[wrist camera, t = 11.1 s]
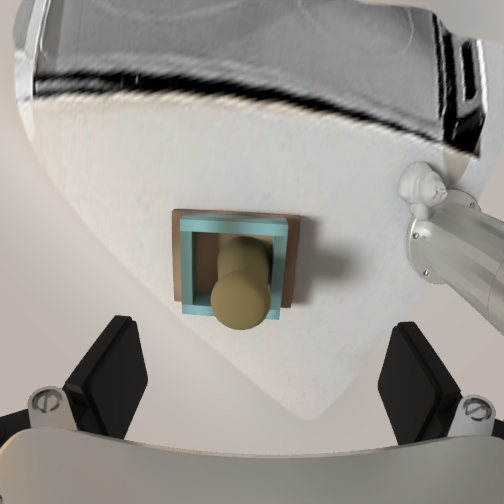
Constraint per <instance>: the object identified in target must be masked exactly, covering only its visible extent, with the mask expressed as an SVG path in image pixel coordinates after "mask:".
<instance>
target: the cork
mask: <svg viewBox="0 0 504 504" xmlns="http://www.w3.org/2000/svg"><path fill="white" fill-rule="evenodd" d="M217 264H218V282H217V283H216V284H215V286H214V288H213V291H212V293H211V307H212V310H213V313H214V315H215V317H216V318H217V319H218V320H219V321H220V322H221V323H222V324H224V325H225V326H227V327H229V328H232V329H236V330H245V329H251V328H253V327H255V326H257V325H259V324H260V323H261V322H262V321H263V320H264V319H265V318H266V316H267V314H268V312H269V310H270V306H271V296H270V292H269V288H268V287H267V285H266V284H267V280H268V275H269V271H270V266H271V257H270V253H269V251H268V249H267V248H266V246H265V245H264V244H263V243H262V242H260V241H259V240H257V239H255V238H252V237H248V236H240V237H235V238H233V239H231V240H229V241H227V242H226V243H225V244H224V245H223V246H222V248H221V249H220V252H219V254H218V263H217Z"/></svg>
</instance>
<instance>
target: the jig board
mask: <svg viewBox="0 0 504 504" xmlns="http://www.w3.org/2000/svg"><path fill="white" fill-rule="evenodd" d="M299 227H300V216H299V215H284V214H268V213H251V212H232V211H211V210H186V209H174V210H173V211H172V253H173V280H174V301H181V302H182V314H192V315H206V316H215V315H214V313H213V310H212V307H211V293H212V291H213V288H214V286H215V284H216V283H217V282H218V264H217V263H218V254H219V252H220V249H221V248H222V246H223V245H224V244H225V243H226V242H227V241H229V240H231V239H233V238H235V237H240V236H248V237H252V238H255V239H257V240H259V241H260V242H262V243H263V244H264V245H265V246H266V248H267V249H268V251H269V253H270V257H271V266H270V271H269V275H268V280H267V284H266V285H267V287H268V288H269V292H270V296H271V306H270V310H269V312H268V314H267V316H266V318H265V319H276V320H279V315H280V307H281V308H291V300H292V292H293V283H294V274H295V265H296V256H297V247H298V237H299Z"/></svg>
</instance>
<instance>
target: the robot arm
mask: <svg viewBox="0 0 504 504" xmlns="http://www.w3.org/2000/svg"><path fill="white" fill-rule="evenodd" d="M446 190H447V193H448V196H447V197H446V199H445V200H444V201H443V202H442V203H441V204H439V205H435V206H429V216H428V219H427V220H425V221H419V220H418V219H417V218H416V217H415V216H414V215H413V217H412V220H411V222H410V225H409V229H408V233H407V243H406V246H407V255H408V258H409V261H410V263H411V265H412V267H413V269H414V270H415V271H416V273H417V274H418V275H419V276H420V277H421V278H423V279H424V280H426V281H428V282H430V283H434V284H445V283H447V284H448V285H449V286H450V287H451V288H453V289H454V290H455V291H456V292H457V293H458V294H459V295H460V296H461V297H463V298H464V299H465V300H466V301H467V302H468V303H469V304H470V305H471V306H472V307H474V308H475V309H476V310H477V311H478V312H479V313H480V314H481V315H482V316H483V317H484V318H485V319H486V320H487V321H488V322H490V324H492V325H493V326H494V327H495V328H496V329H497V330H498V331H499V332H500V333H501V334H502V335H503V336H504V222H503V221H501V220H498V219H496V218H494V217H491V216H489V215H487V214H485V213H482V212H481V209H480V207H479V205H478V204H477V202H476V201H475V200H474V199H473V198H472V197H471V196H470V195H468V194H467V193H465V192H462V191H459V190H455V189H446ZM413 234H414V235H413ZM147 382H148V376H147V371H146V367H145V363H144V358H143V353H142V348H141V343H140V338H139V333H138V328H137V323H136V321H133V320H132V318H131V317H130V316H120V315H116V316H114V318H113V319H112V320H111V322H110V323H109V324H108V325H107V327H106V328H105V329H104V331H103V332H102V333H101V335H100V336H99V337H98V338H97V340H96V341H95V342H94V344H93V345H92V347H91V348H90V349H89V351H88V352H87V353H86V355H85V356H84V357H83V359H82V360H81V361H80V363H79V364H78V365H77V367H76V368H75V370H74V371H73V372H72V374H71V375H70V377H69V378H68V379H67V381H66V382H65V385H64V386H63V388H62V389H61V388H58V387H55V386H47V387H43V388H40V389H38V390H36V391H35V392H34V393H33V394H32V395H31V396H30V397H29V400H28V409H25V410H22V411H19V412H15V413H12V414H9V415H6V416H2V417H0V504H504V420H503V421H500V420H498V419H495V415H496V411H495V408H494V406H493V404H492V403H491V402H490V401H489V400H488V399H486V398H484V397H482V396H479V395H468V396H465V397H464V398H463V396H462V395H461V393H460V392H461V390H460V389H459V387H458V385H457V384H456V382H455V381H454V379H453V378H452V376H451V374H450V373H449V372H448V370H447V368H446V367H445V365H444V364H443V362H442V361H441V359H440V358H439V356H438V355H437V353H436V352H435V351H434V349H433V348H432V346H431V345H430V343H429V342H428V341H427V339H426V338H425V336H424V335H423V334H422V332H421V331H420V329H419V328H418V326H417V325H416V324H415V323H414V322H399V323H398V325H397V326H395V327H394V328H393V330H392V334H391V338H390V341H389V345H388V349H387V353H386V357H385V360H384V363H383V367H382V371H381V374H380V377H379V380H378V390H379V393H380V396H381V399H382V401H383V404H384V407H385V409H386V411H387V415H388V417H389V420H390V423H391V425H392V428H393V431H394V434H395V437H396V439H397V442H398V446H391V447H383V448H376V449H368V450H360V451H350V452H338V453H324V454H302V455H252V454H230V453H217V452H205V451H194V450H186V449H178V448H170V447H163V446H157V445H151V444H145V443H139V442H133V441H128V440H124V438H125V435H126V433H127V431H128V428H129V426H130V423H131V421H132V419H133V416H134V414H135V411H136V409H137V407H138V405H139V402H140V400H141V398H142V396H143V393H144V391H145V389H146V386H147Z"/></svg>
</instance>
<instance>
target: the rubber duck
mask: <svg viewBox="0 0 504 504" xmlns="http://www.w3.org/2000/svg"><path fill="white" fill-rule="evenodd" d="M398 195H399V196H400V197H401V198H402V199H403V200H405V201H406V202H407V203H409V204H410V212H411V213H412V215H414V216H415V217H416V218H417V219H418V220H419V221H425V220H427V219H428V216H429V206H435V205H439V204H441V203H442V202H443V201H444V200H445V199H446V197H447V196H448V193H447V190H446V186H445V184H444V182H443V180H442V179H441V177H440V176H439V175H438V173H436V172H435V171H433V170H432V169H431V167H430V166H429V165H428V164H427V163H425V162H415V163H412V164H411V165H409V166H408V167H407V168H406V169H405V170H404V171H403V173H402V175H401V176H400V178H399V180H398Z"/></svg>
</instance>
